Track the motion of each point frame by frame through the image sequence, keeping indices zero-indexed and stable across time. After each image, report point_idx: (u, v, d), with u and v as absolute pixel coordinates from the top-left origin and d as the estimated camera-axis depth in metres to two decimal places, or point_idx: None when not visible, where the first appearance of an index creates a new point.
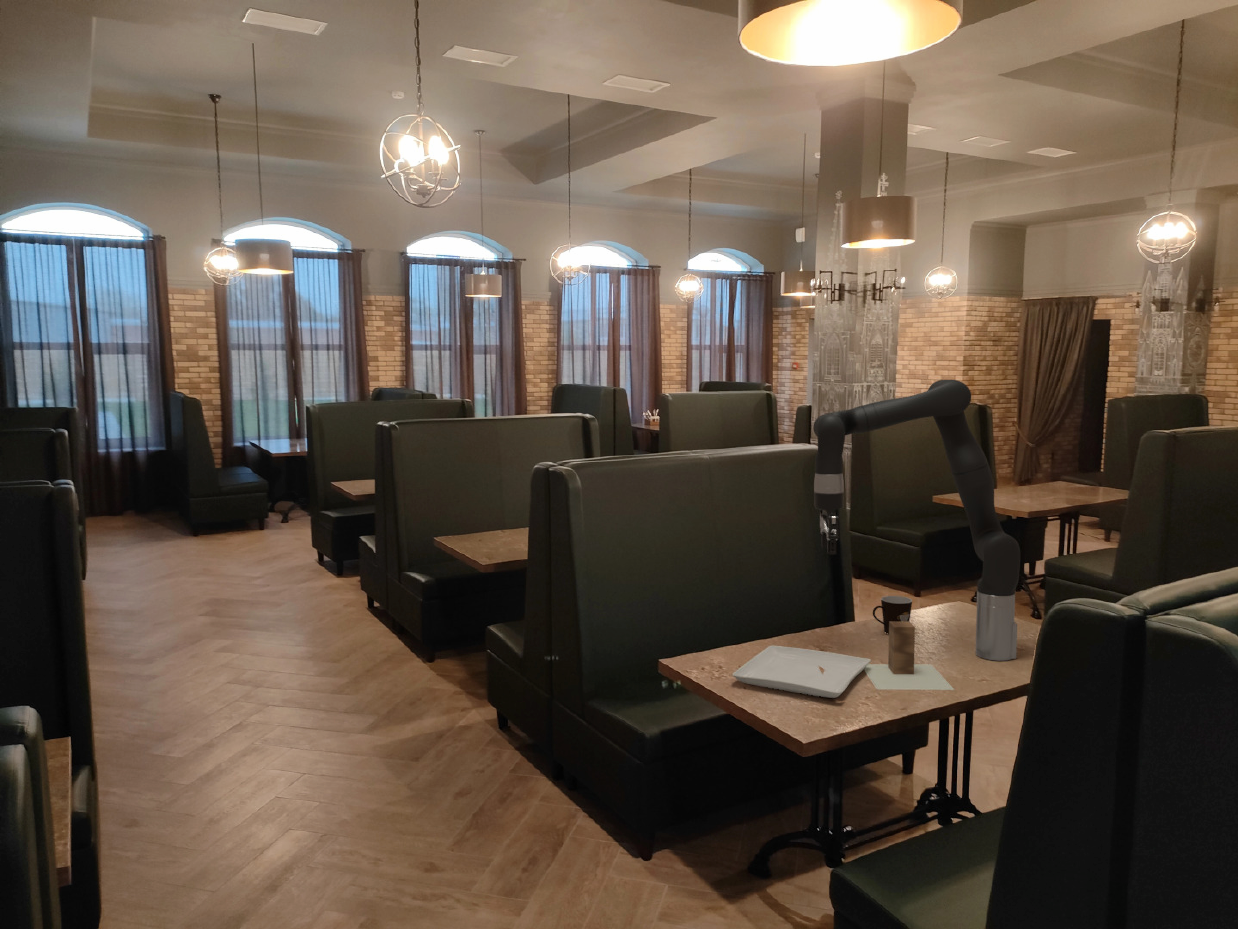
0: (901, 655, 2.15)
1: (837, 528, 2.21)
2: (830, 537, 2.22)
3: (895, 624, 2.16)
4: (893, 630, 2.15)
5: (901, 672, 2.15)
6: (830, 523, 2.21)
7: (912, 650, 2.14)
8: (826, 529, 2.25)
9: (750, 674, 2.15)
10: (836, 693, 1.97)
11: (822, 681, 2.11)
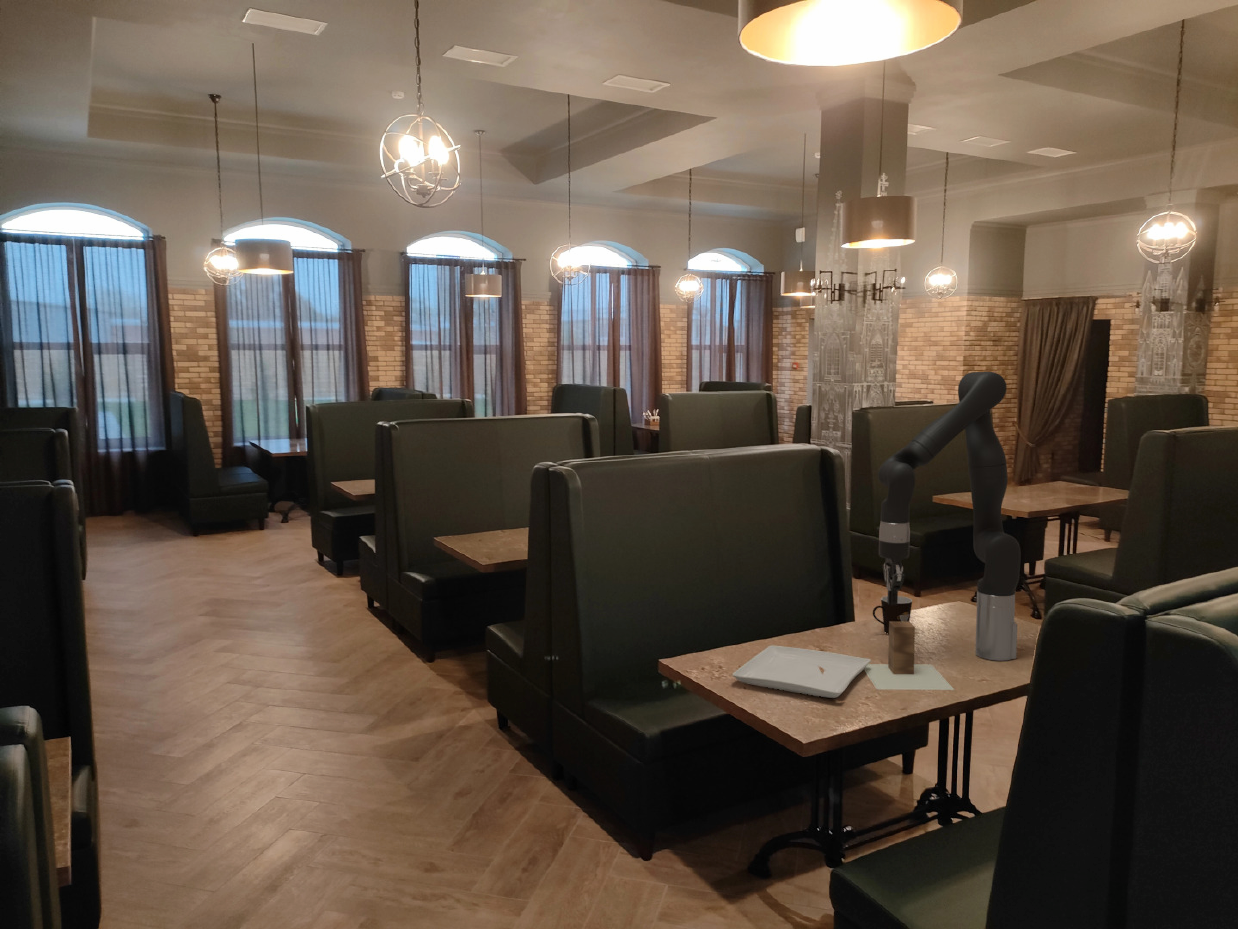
0: (901, 655, 2.15)
1: (901, 584, 2.20)
2: (892, 588, 2.21)
3: (895, 624, 2.16)
4: (893, 630, 2.15)
5: (901, 672, 2.15)
6: (895, 581, 2.19)
7: (912, 650, 2.14)
8: (889, 581, 2.23)
9: (750, 674, 2.15)
10: (836, 693, 1.97)
11: (822, 681, 2.11)
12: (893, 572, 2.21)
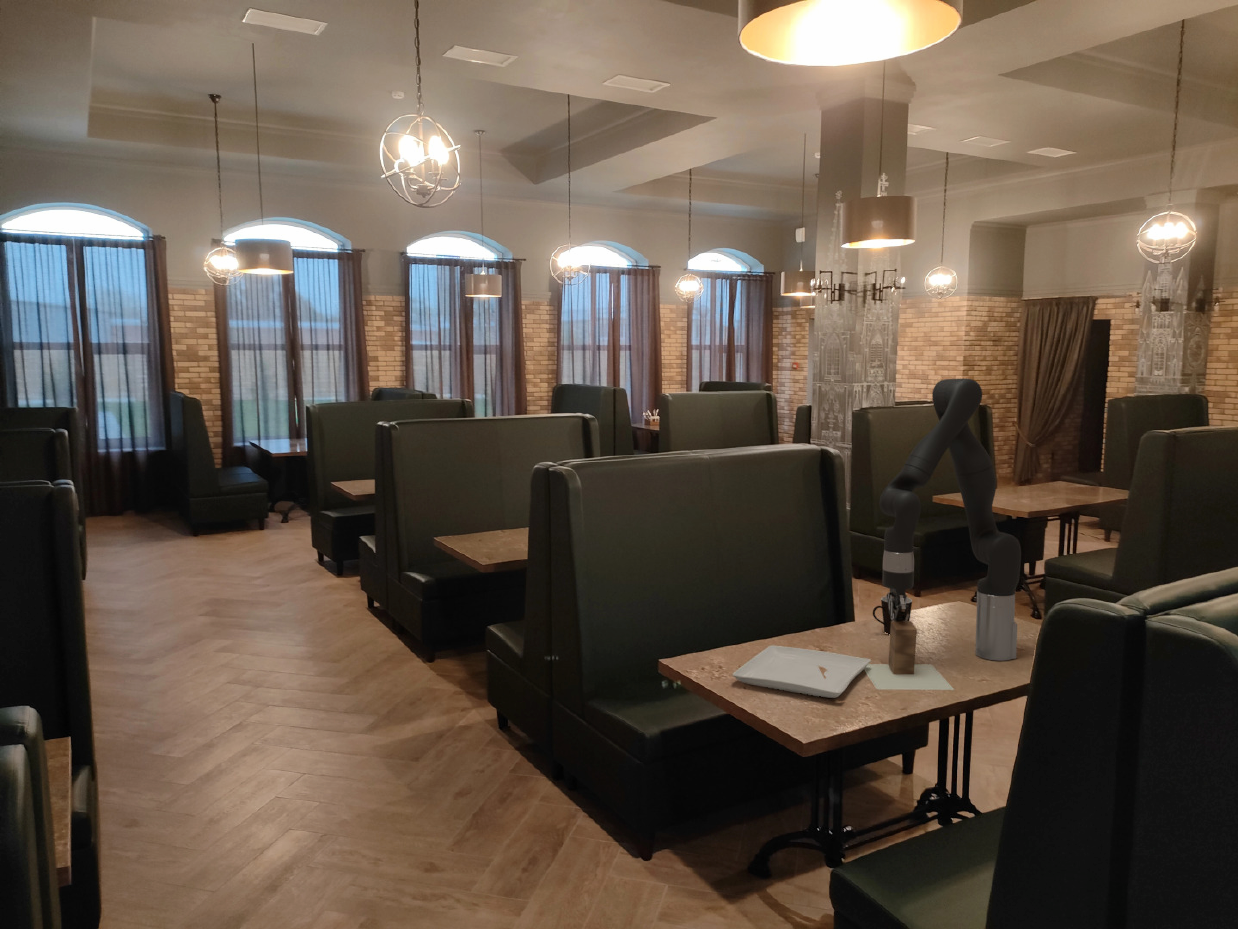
0: (902, 656, 2.14)
1: (905, 615, 2.15)
2: (896, 619, 2.17)
3: (896, 625, 2.14)
4: (895, 632, 2.13)
5: (901, 672, 2.15)
6: (899, 612, 2.14)
7: (913, 651, 2.13)
8: (893, 611, 2.18)
9: (750, 674, 2.15)
10: (836, 693, 1.97)
11: (822, 681, 2.11)
12: (897, 602, 2.16)
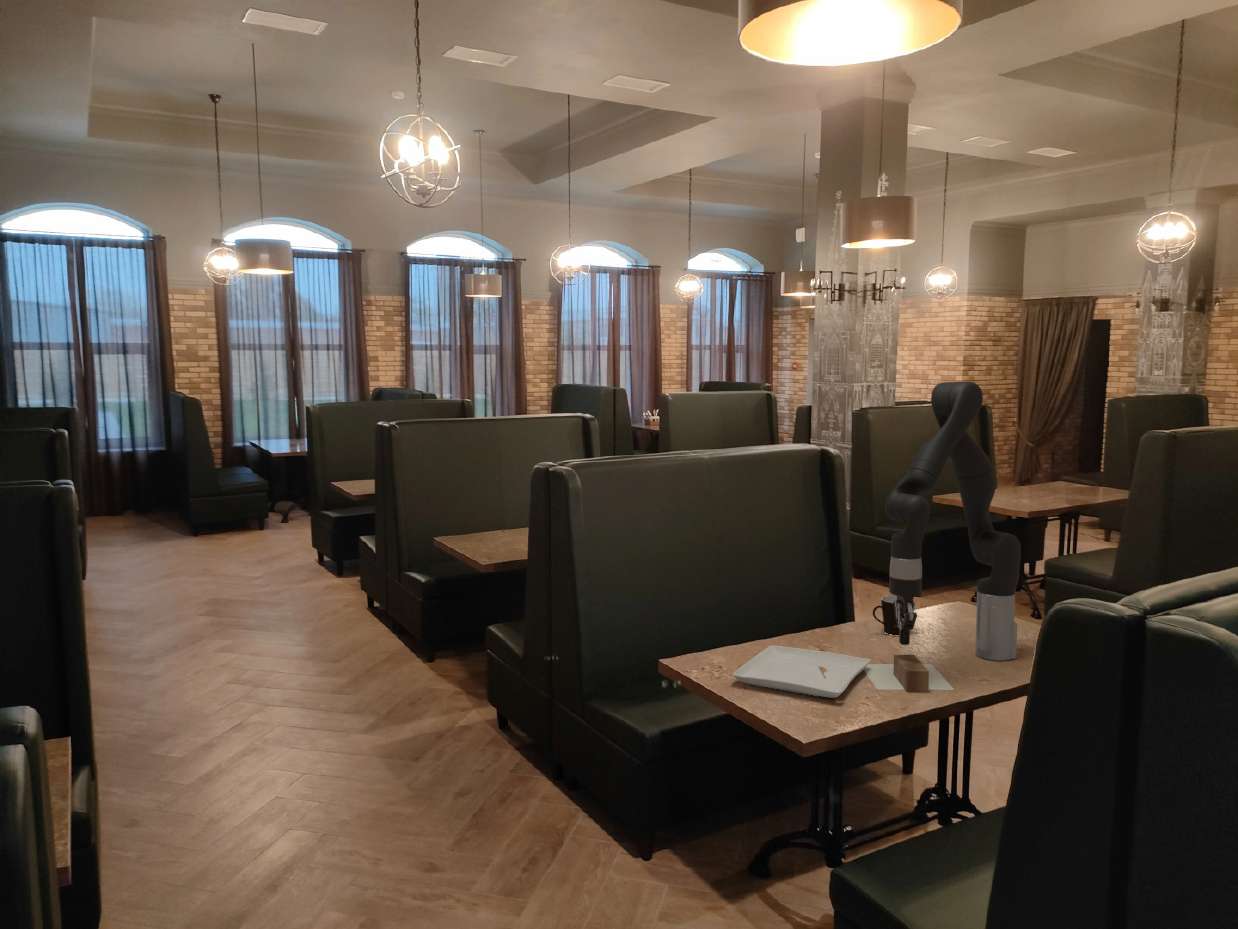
0: None
1: (913, 623, 2.08)
2: (904, 627, 2.10)
3: (910, 682, 2.03)
4: (905, 687, 2.04)
5: None
6: (907, 620, 2.08)
7: None
8: (900, 619, 2.11)
9: (750, 674, 2.15)
10: (836, 693, 1.97)
11: (822, 681, 2.11)
12: (905, 610, 2.09)
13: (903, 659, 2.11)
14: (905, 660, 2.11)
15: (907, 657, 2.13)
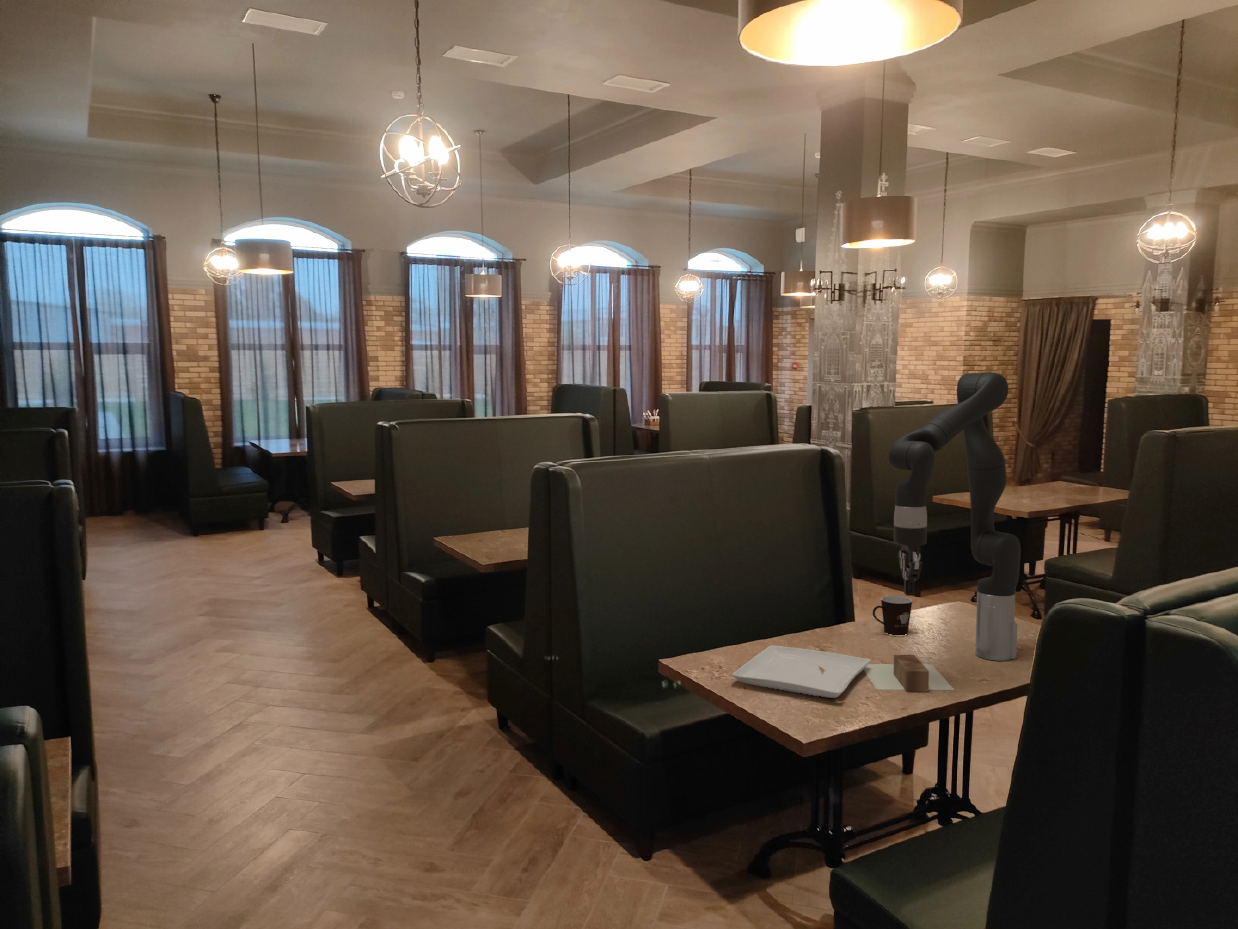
0: None
1: (918, 572, 2.04)
2: (909, 577, 2.06)
3: (910, 682, 2.03)
4: (905, 687, 2.04)
5: None
6: (912, 569, 2.03)
7: None
8: (905, 569, 2.07)
9: (750, 674, 2.15)
10: (836, 693, 1.97)
11: (822, 681, 2.11)
12: (910, 560, 2.05)
13: (903, 659, 2.11)
14: (905, 660, 2.11)
15: (907, 657, 2.13)
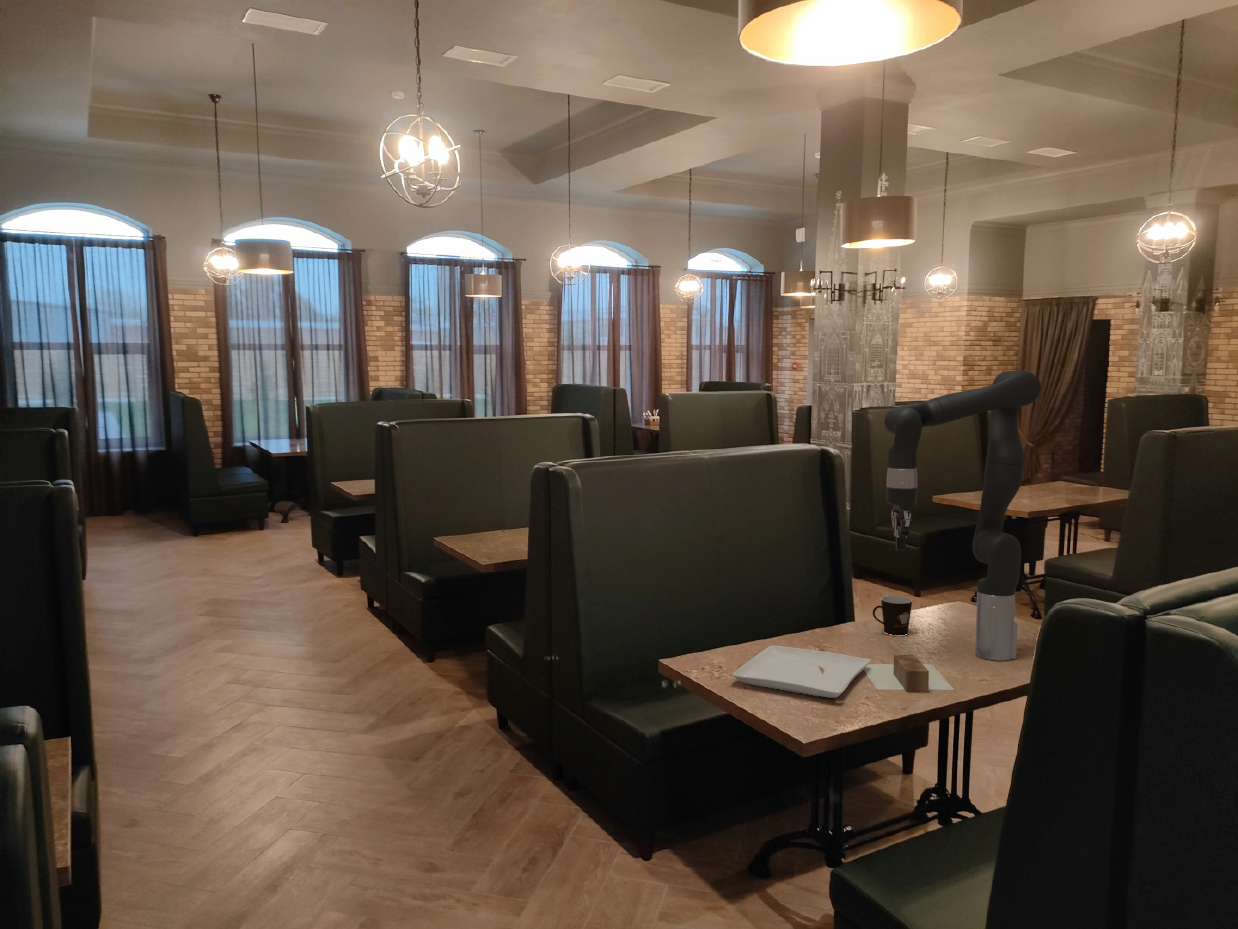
0: None
1: (909, 530, 2.19)
2: (900, 534, 2.21)
3: (910, 682, 2.03)
4: (905, 687, 2.04)
5: None
6: (903, 526, 2.18)
7: None
8: (897, 527, 2.22)
9: (750, 674, 2.15)
10: (836, 693, 1.97)
11: (822, 681, 2.11)
12: (901, 518, 2.20)
13: (903, 659, 2.11)
14: (905, 660, 2.11)
15: (907, 657, 2.13)
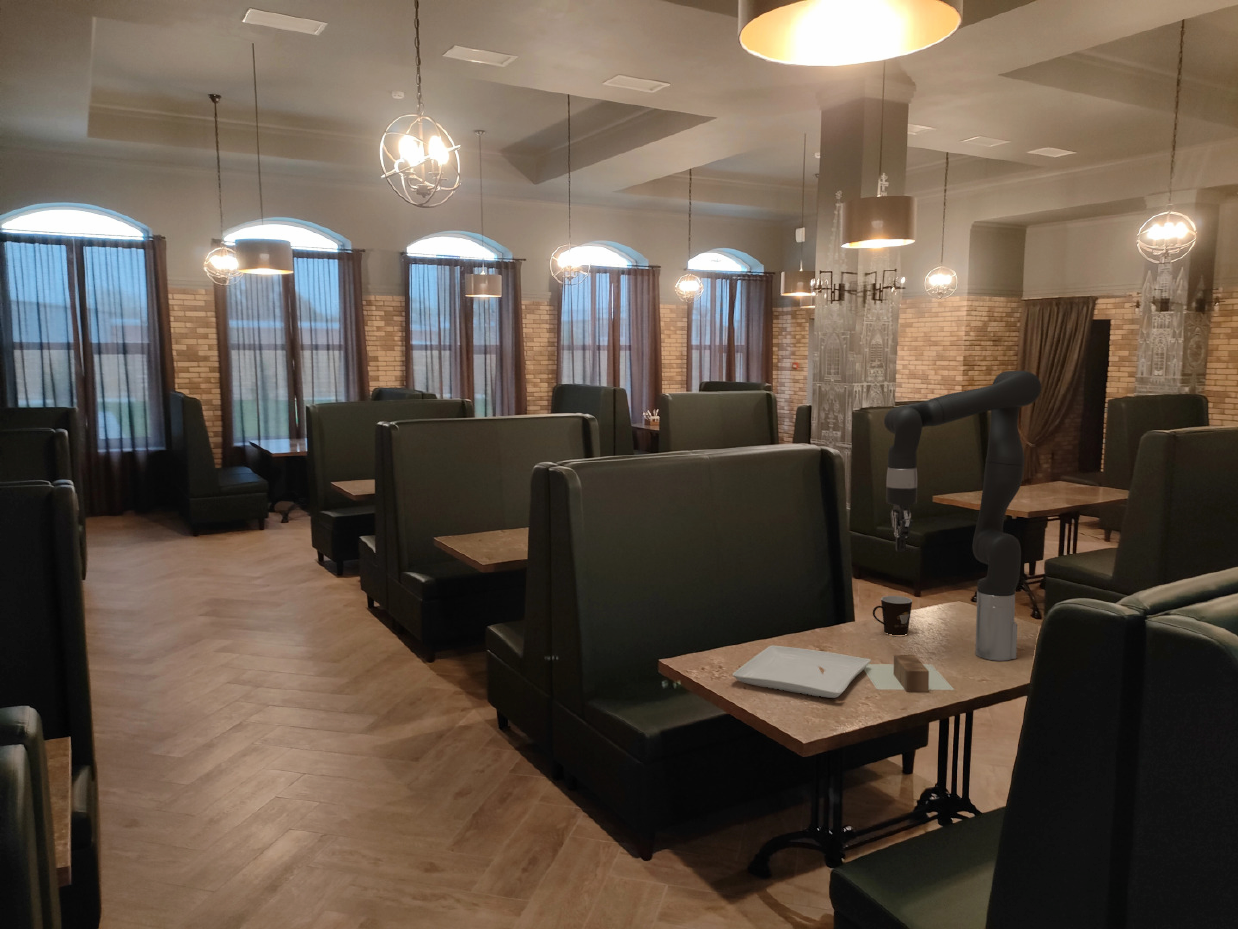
0: None
1: (909, 530, 2.19)
2: (900, 534, 2.21)
3: (910, 682, 2.03)
4: (905, 687, 2.04)
5: None
6: (903, 526, 2.18)
7: None
8: (897, 527, 2.22)
9: (750, 674, 2.15)
10: (836, 693, 1.97)
11: (822, 681, 2.11)
12: (901, 518, 2.20)
13: (903, 659, 2.11)
14: (905, 660, 2.11)
15: (907, 657, 2.13)
